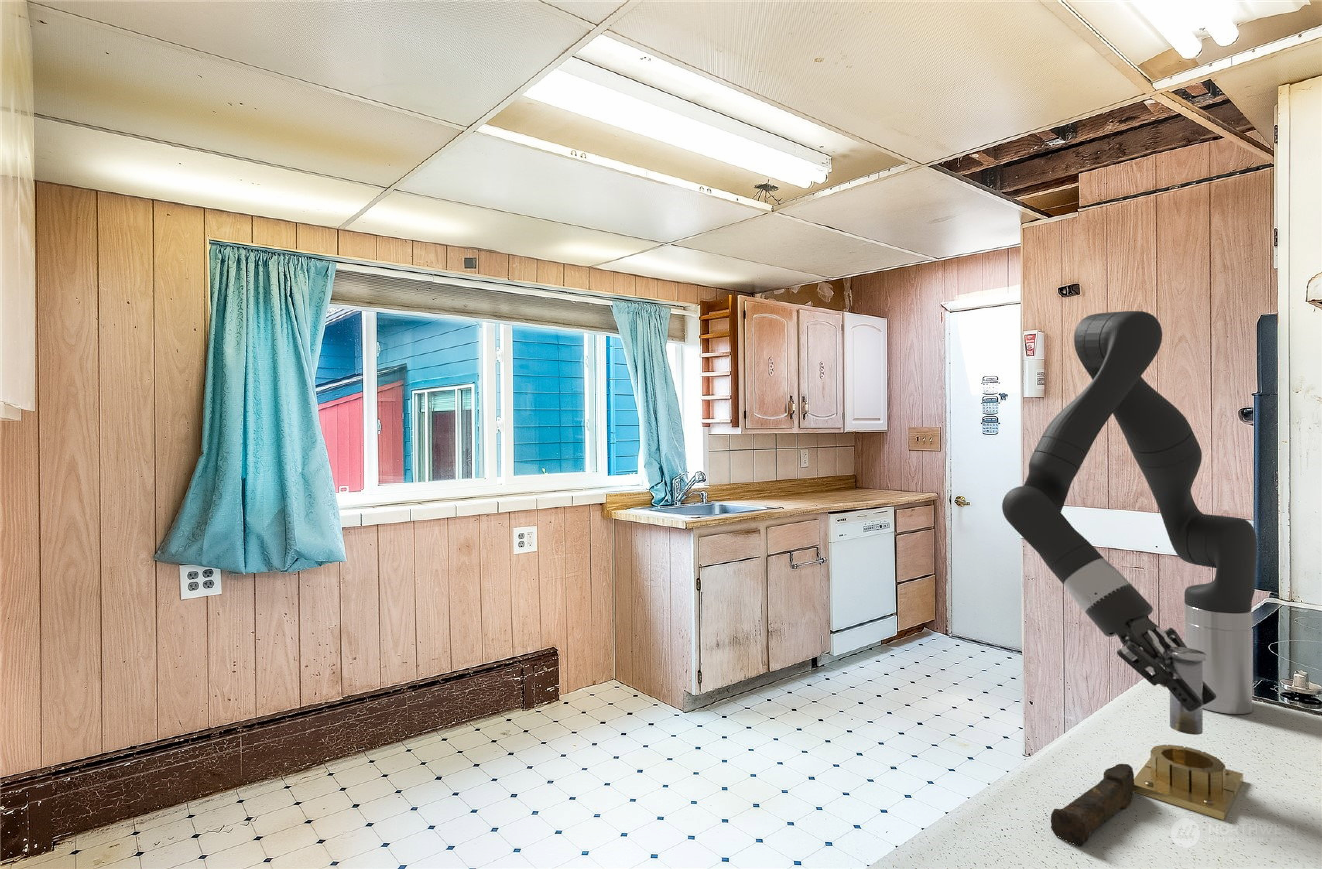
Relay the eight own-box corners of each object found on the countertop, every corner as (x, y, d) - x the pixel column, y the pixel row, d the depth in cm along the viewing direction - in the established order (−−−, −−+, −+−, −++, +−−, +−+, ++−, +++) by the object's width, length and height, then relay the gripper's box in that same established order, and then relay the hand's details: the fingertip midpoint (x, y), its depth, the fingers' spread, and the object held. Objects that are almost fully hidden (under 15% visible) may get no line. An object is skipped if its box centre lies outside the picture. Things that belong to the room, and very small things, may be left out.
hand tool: (1084, 853, 82) (1084, 814, 82) (1049, 836, 85) (1049, 798, 85) (1155, 803, 92) (1155, 768, 92) (1121, 790, 96) (1122, 756, 95)
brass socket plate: (1156, 756, 104) (1156, 731, 104) (1243, 780, 97) (1242, 753, 97) (1130, 790, 95) (1130, 762, 95) (1223, 820, 87) (1223, 790, 87)
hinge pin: (1159, 721, 98) (1159, 646, 98) (1193, 722, 97) (1193, 647, 97) (1178, 735, 94) (1178, 656, 94) (1214, 736, 93) (1214, 657, 93)
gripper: (1101, 588, 98) (1205, 703, 88) (1148, 576, 106) (1248, 680, 95) (1062, 617, 102) (1157, 730, 92) (1110, 603, 110) (1202, 706, 100)
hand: (1203, 704), depth 94 cm, fingers closed on hinge pin, 3 cm apart
